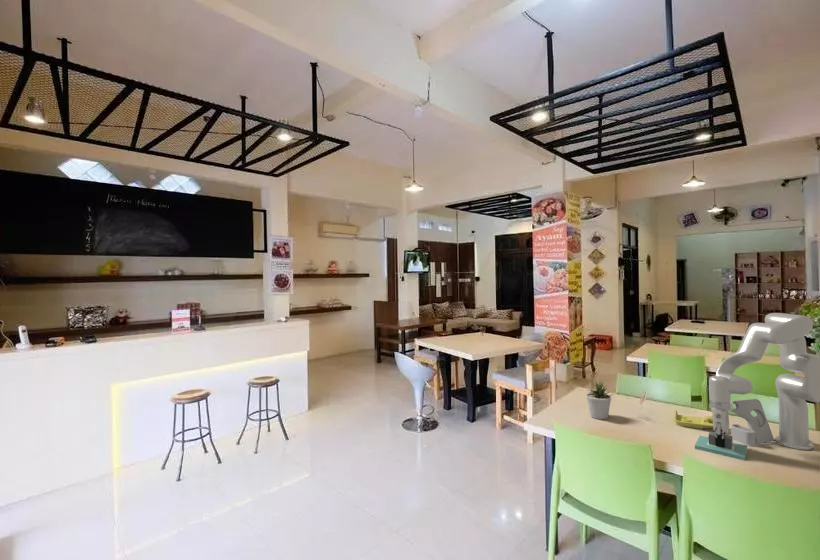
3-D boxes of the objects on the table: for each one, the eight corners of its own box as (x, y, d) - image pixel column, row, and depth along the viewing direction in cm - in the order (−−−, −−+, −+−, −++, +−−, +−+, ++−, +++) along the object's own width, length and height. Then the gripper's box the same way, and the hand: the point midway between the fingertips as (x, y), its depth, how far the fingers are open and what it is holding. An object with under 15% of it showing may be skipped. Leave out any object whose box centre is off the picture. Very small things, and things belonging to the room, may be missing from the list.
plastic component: (673, 421, 201) (675, 407, 208) (676, 432, 203) (677, 418, 210) (722, 427, 188) (722, 412, 195) (724, 438, 190) (724, 424, 197)
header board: (699, 438, 185) (699, 430, 185) (747, 448, 173) (746, 440, 173) (694, 448, 175) (694, 439, 175) (744, 460, 163) (744, 450, 163)
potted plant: (618, 420, 210) (617, 383, 210) (592, 421, 210) (591, 384, 210) (607, 412, 222) (606, 377, 222) (582, 413, 223) (581, 378, 222)
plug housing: (710, 441, 178) (709, 431, 178) (732, 446, 173) (732, 436, 173) (708, 444, 175) (708, 434, 175) (731, 449, 169) (731, 439, 169)
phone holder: (749, 447, 175) (748, 407, 175) (727, 437, 185) (727, 400, 185) (781, 443, 177) (781, 404, 177) (758, 434, 187) (758, 397, 187)
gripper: (728, 411, 165) (729, 454, 165) (732, 401, 177) (733, 441, 177) (706, 407, 170) (707, 448, 170) (711, 398, 182) (712, 436, 182)
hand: (720, 444), depth 174 cm, fingers closed on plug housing, 4 cm apart
